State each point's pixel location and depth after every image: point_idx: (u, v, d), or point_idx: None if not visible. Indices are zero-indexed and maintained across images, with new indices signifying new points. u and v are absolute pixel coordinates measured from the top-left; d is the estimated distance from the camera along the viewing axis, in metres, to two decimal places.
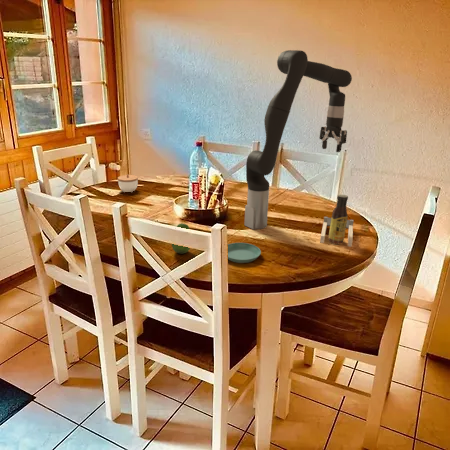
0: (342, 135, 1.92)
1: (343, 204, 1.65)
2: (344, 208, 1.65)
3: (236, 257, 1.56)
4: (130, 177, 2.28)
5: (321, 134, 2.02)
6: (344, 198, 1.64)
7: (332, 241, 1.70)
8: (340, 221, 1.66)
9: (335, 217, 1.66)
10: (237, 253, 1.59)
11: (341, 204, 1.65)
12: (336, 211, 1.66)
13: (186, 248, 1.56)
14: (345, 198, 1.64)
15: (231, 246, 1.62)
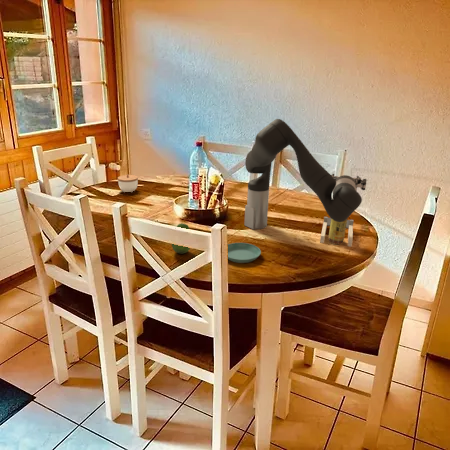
0: None
1: None
2: None
3: (236, 257, 1.56)
4: (130, 177, 2.28)
5: None
6: None
7: (332, 241, 1.70)
8: None
9: None
10: (237, 253, 1.59)
11: None
12: None
13: (186, 248, 1.56)
14: None
15: (231, 246, 1.62)
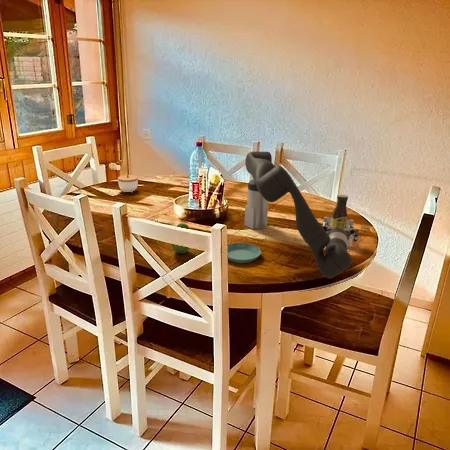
0: None
1: (343, 204, 1.65)
2: (344, 208, 1.65)
3: (236, 257, 1.56)
4: (130, 177, 2.28)
5: None
6: (344, 198, 1.64)
7: None
8: (340, 221, 1.66)
9: (335, 217, 1.66)
10: (237, 253, 1.59)
11: (341, 204, 1.65)
12: (336, 211, 1.66)
13: (186, 248, 1.56)
14: (345, 198, 1.64)
15: (231, 246, 1.62)
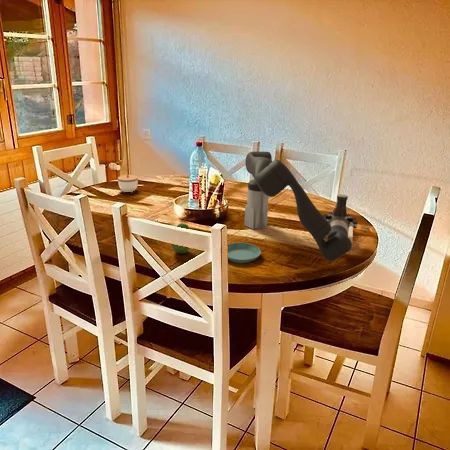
0: None
1: (343, 204, 1.65)
2: (344, 208, 1.65)
3: (236, 257, 1.56)
4: (130, 177, 2.28)
5: None
6: (344, 198, 1.64)
7: None
8: None
9: None
10: (237, 253, 1.59)
11: (341, 204, 1.65)
12: (336, 211, 1.66)
13: (186, 248, 1.56)
14: (345, 198, 1.64)
15: (231, 246, 1.62)
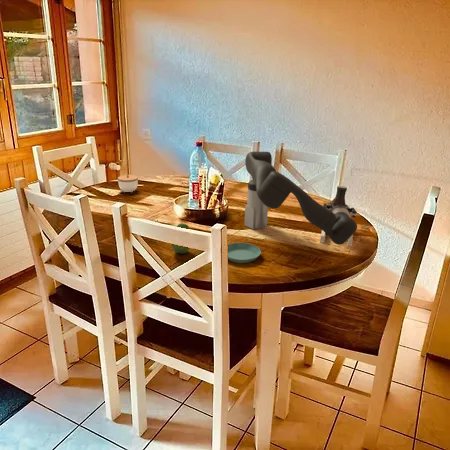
0: None
1: (342, 194, 1.75)
2: (343, 198, 1.75)
3: (236, 257, 1.56)
4: (130, 177, 2.28)
5: None
6: (344, 189, 1.74)
7: None
8: None
9: None
10: (237, 253, 1.59)
11: (341, 194, 1.75)
12: (335, 201, 1.76)
13: (186, 248, 1.56)
14: (344, 189, 1.74)
15: (231, 246, 1.62)
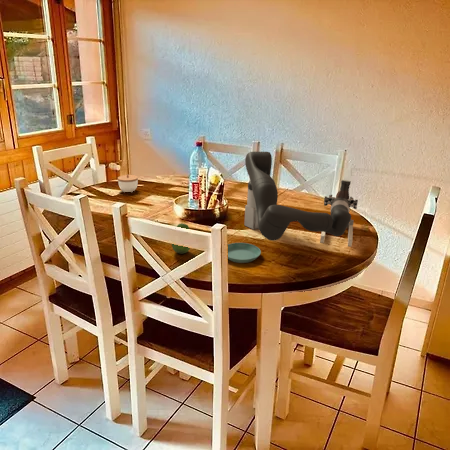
0: None
1: (346, 188, 1.83)
2: (347, 191, 1.84)
3: (236, 257, 1.56)
4: (130, 177, 2.28)
5: None
6: (347, 182, 1.83)
7: None
8: None
9: None
10: (237, 253, 1.59)
11: (345, 188, 1.83)
12: (340, 194, 1.84)
13: (186, 248, 1.56)
14: (348, 182, 1.83)
15: (231, 246, 1.62)
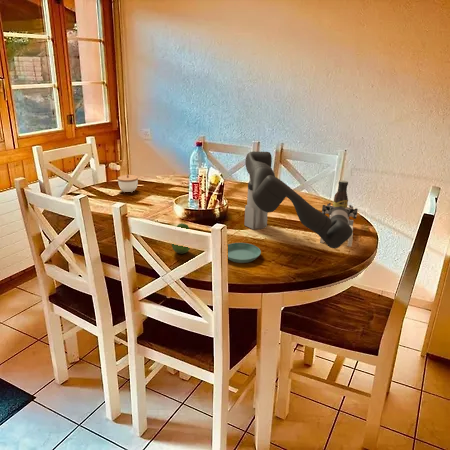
0: None
1: (344, 188, 1.82)
2: (345, 192, 1.83)
3: (236, 257, 1.56)
4: (130, 177, 2.28)
5: None
6: (345, 183, 1.82)
7: None
8: (342, 204, 1.83)
9: (337, 201, 1.84)
10: (237, 253, 1.59)
11: (342, 189, 1.83)
12: (338, 195, 1.84)
13: (186, 248, 1.56)
14: (346, 183, 1.82)
15: (230, 246, 1.62)
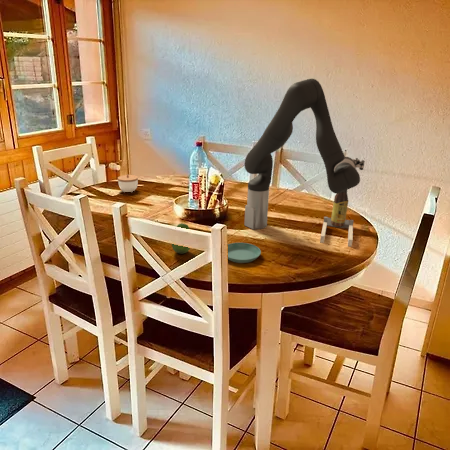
0: None
1: None
2: (345, 193, 1.82)
3: (236, 257, 1.56)
4: (130, 177, 2.28)
5: None
6: None
7: (334, 224, 1.87)
8: (342, 205, 1.83)
9: (337, 202, 1.83)
10: (236, 253, 1.59)
11: None
12: (338, 196, 1.83)
13: (186, 248, 1.56)
14: None
15: (230, 246, 1.62)
